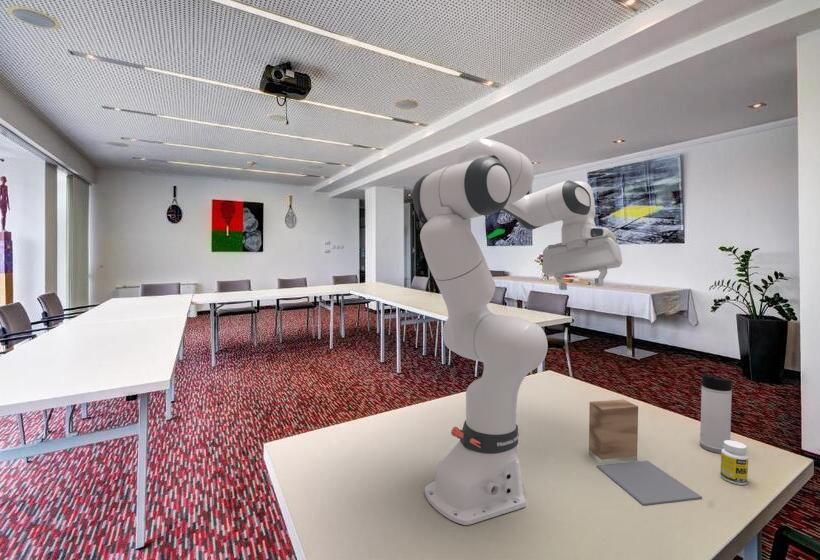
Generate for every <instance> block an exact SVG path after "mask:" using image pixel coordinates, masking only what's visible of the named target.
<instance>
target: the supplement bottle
mask: <svg viewBox="0 0 820 560" xmlns="http://www.w3.org/2000/svg"><path fill="white" fill-rule="evenodd" d="M747 452H748V450H747V445H745V443H742V442H739V441H736V440H731V439H730V440H725V441H724V448H723V449H722V450H721V454H720V474H719V475H720V477H721V478H722V479H723V480H725V481H726V482H729V483H731V484H735V485H739V486H743V485H746V484H748V473H749V471H748V470H749V456H748V454H747Z"/></svg>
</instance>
